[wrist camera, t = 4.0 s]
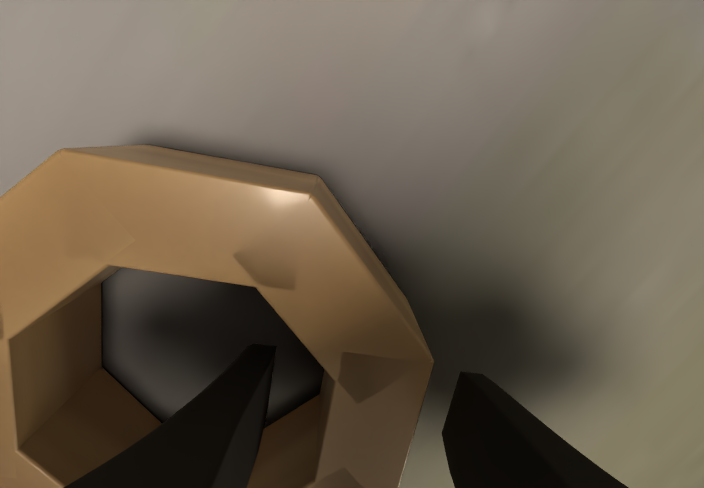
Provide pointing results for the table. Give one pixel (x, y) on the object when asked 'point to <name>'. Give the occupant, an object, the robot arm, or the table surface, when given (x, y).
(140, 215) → the hanging ring
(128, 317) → the table surface
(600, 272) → the table surface
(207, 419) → the robot arm
